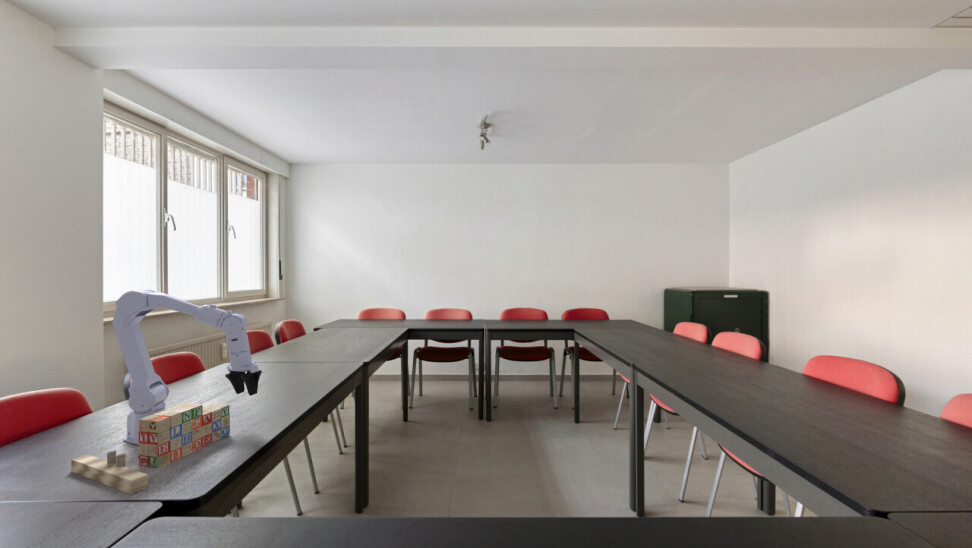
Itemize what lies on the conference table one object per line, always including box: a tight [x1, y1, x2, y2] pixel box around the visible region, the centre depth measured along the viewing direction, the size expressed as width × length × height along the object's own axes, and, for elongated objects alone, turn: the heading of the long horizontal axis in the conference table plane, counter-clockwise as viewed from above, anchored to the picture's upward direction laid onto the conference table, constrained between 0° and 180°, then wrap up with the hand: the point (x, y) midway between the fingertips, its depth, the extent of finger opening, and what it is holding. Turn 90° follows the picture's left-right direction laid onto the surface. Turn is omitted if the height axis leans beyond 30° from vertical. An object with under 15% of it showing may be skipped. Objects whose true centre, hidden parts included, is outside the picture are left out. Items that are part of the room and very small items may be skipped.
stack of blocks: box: [138, 403, 231, 469], centre depth 108 cm, size 21×6×12 cm, turn 168°
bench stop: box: [70, 450, 149, 495], centre depth 93 cm, size 26×4×6 cm, turn 68°
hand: (246, 393), depth 123 cm, fingers open, 7 cm apart
